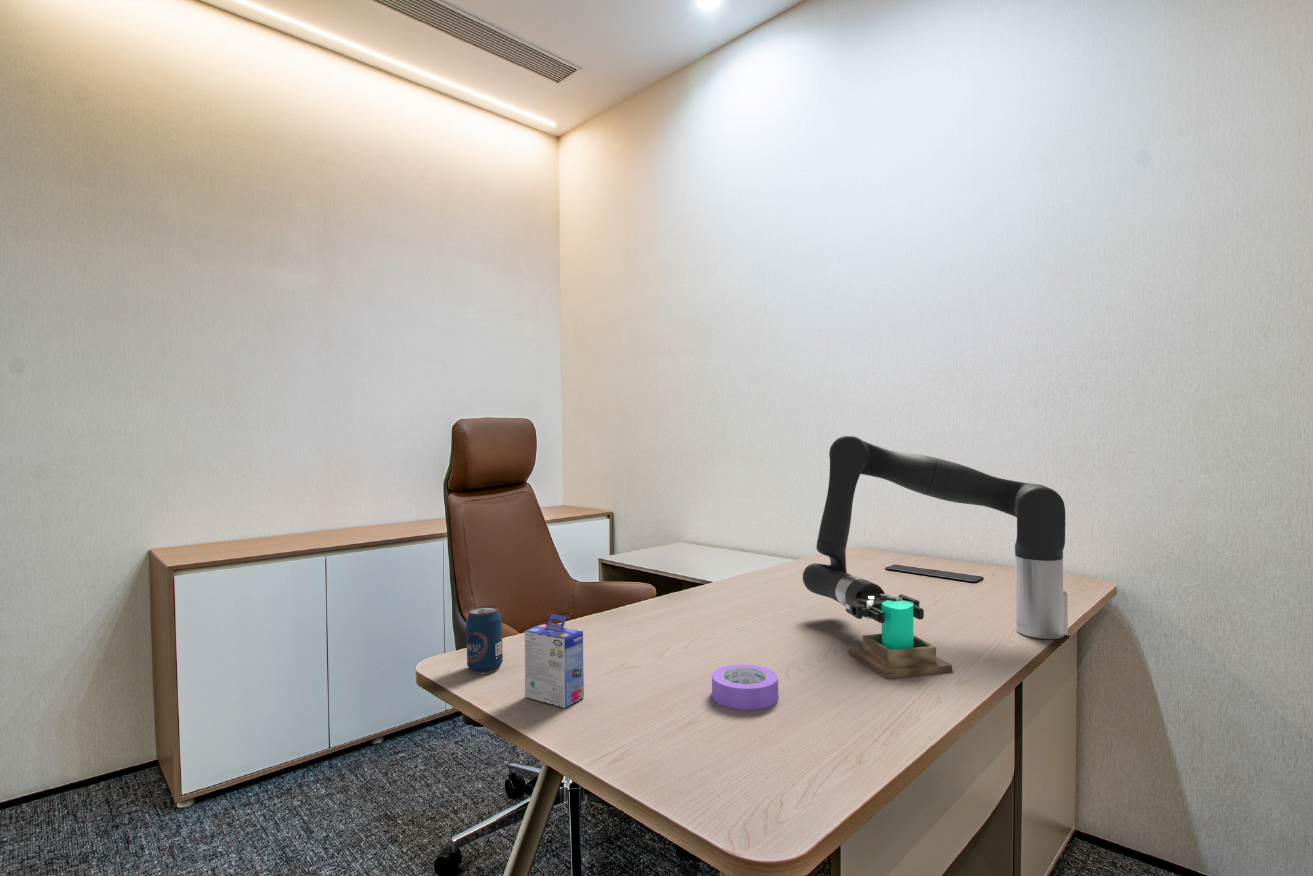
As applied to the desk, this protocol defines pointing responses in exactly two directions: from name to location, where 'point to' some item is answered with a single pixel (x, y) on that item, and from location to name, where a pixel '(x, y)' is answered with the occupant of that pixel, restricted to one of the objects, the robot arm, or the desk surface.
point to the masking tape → (745, 687)
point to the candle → (897, 625)
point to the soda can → (484, 639)
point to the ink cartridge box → (554, 663)
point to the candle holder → (899, 658)
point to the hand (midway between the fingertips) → (902, 616)
